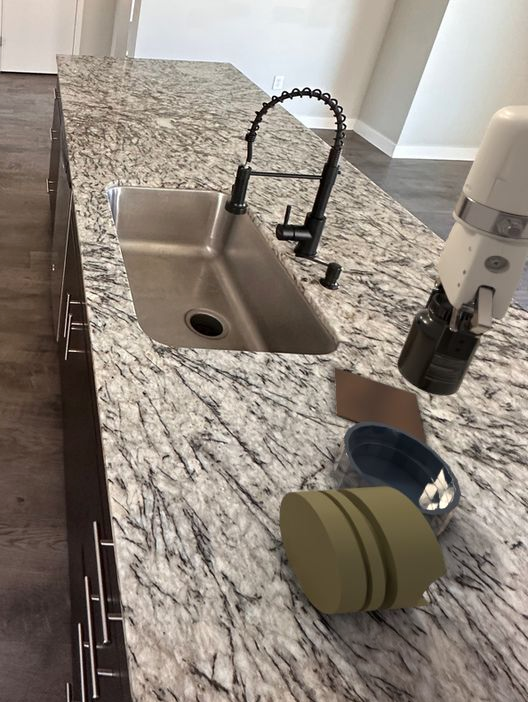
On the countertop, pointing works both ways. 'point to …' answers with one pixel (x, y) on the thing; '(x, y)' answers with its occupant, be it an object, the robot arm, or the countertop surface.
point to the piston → (359, 549)
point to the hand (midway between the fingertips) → (444, 334)
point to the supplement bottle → (433, 350)
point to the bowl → (398, 469)
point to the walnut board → (376, 403)
